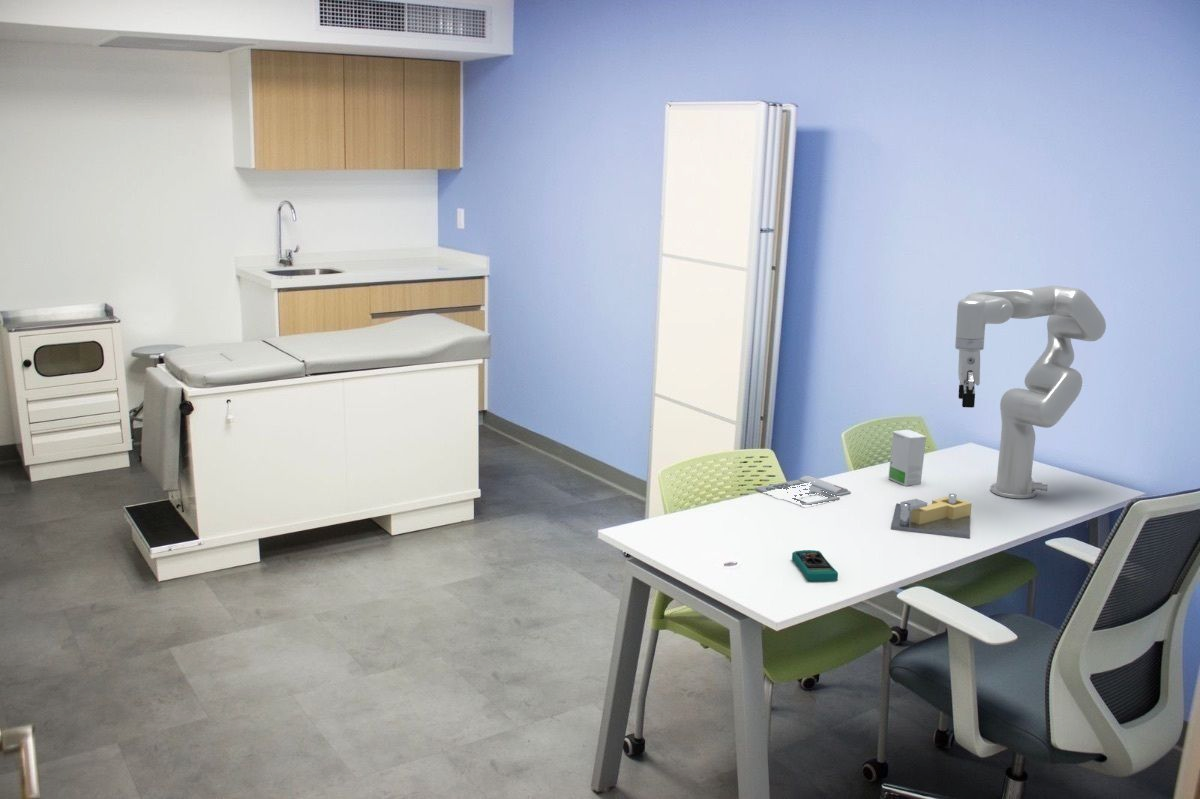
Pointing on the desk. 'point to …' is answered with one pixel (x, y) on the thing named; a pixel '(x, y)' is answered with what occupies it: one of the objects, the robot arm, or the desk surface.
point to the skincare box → (907, 457)
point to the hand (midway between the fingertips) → (966, 402)
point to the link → (941, 511)
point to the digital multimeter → (814, 565)
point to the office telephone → (814, 488)
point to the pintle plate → (938, 527)
